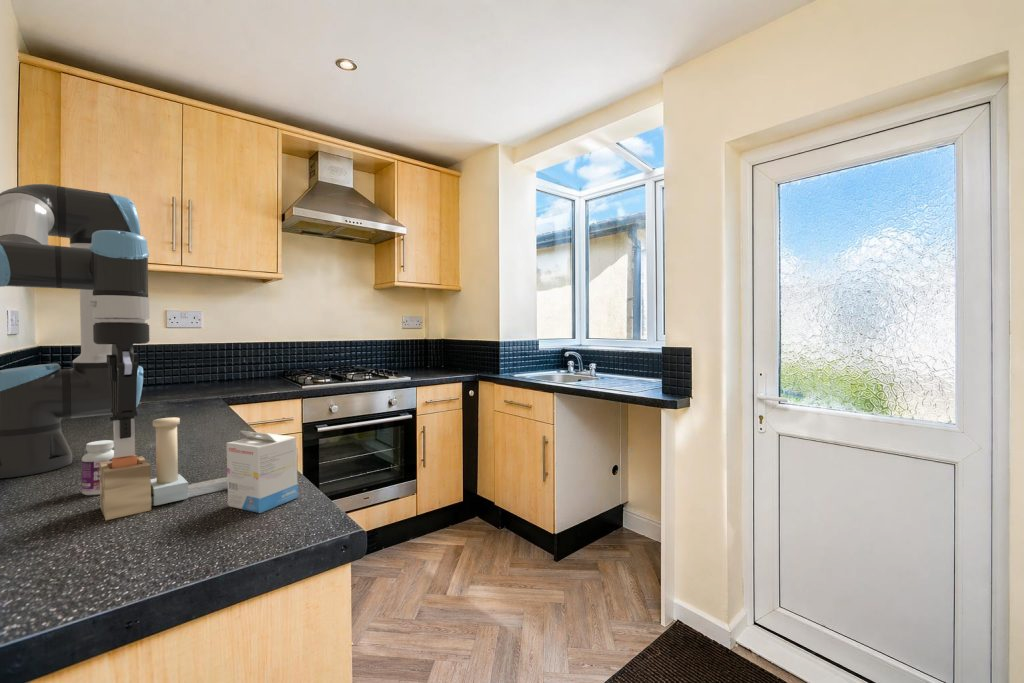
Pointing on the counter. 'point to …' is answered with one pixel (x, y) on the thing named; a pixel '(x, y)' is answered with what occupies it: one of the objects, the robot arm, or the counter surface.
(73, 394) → the robot arm
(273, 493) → the ink box
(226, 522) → the counter surface
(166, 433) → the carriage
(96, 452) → the pill bottle
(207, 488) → the rail
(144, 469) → the wooden box
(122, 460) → the orange rounded piece
